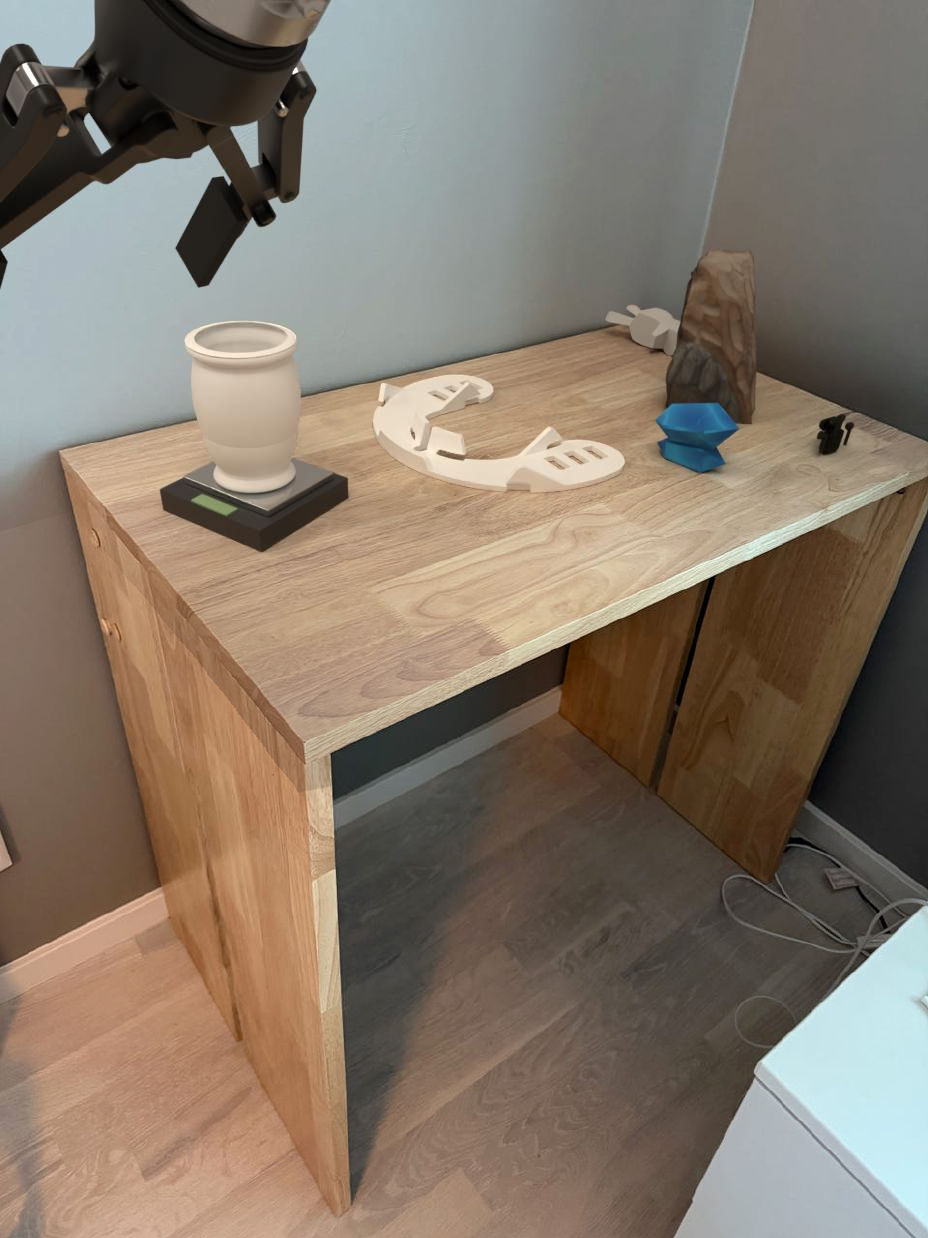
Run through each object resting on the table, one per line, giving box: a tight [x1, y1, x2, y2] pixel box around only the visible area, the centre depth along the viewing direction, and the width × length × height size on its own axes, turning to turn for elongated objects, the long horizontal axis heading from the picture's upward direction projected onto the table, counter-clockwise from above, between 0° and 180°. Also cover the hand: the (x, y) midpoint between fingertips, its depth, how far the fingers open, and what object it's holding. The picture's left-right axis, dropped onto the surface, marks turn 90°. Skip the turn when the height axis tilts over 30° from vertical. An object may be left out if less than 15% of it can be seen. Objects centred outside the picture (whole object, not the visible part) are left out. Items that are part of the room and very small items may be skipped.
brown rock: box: [664, 248, 758, 425], centre depth 118 cm, size 13×13×20 cm
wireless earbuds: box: [816, 413, 855, 455], centre depth 112 cm, size 7×2×5 cm, turn 123°
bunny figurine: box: [605, 304, 681, 357], centre depth 142 cm, size 10×5×15 cm
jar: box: [184, 320, 302, 493], centre depth 89 cm, size 11×10×15 cm
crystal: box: [654, 403, 740, 474], centre depth 106 cm, size 7×9×12 cm
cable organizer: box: [372, 374, 626, 494], centre depth 111 cm, size 35×24×3 cm
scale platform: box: [182, 456, 335, 517], centre depth 94 cm, size 12×10×1 cm
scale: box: [159, 472, 350, 553], centre depth 95 cm, size 14×14×3 cm
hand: (88, 288), depth 49 cm, fingers open, 13 cm apart
